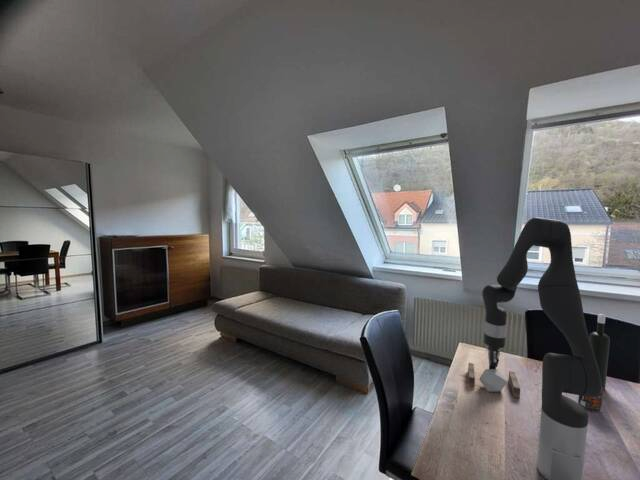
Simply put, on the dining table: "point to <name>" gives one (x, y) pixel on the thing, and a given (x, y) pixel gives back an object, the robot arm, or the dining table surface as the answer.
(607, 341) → the wine bottle
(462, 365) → the dining table surface
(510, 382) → the pair of wooden rails
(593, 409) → the supplement bottle
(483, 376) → the die
